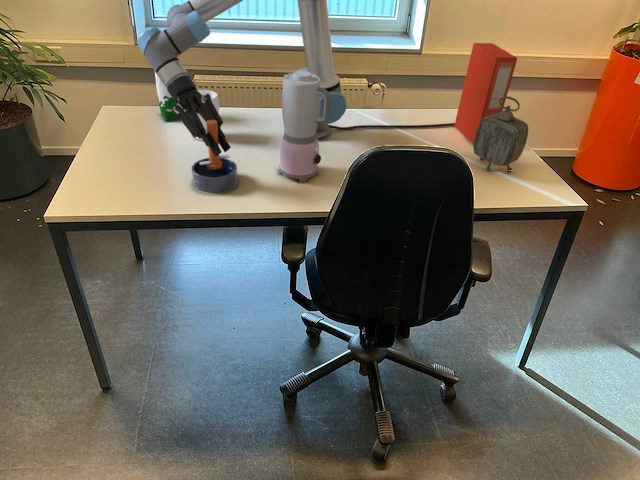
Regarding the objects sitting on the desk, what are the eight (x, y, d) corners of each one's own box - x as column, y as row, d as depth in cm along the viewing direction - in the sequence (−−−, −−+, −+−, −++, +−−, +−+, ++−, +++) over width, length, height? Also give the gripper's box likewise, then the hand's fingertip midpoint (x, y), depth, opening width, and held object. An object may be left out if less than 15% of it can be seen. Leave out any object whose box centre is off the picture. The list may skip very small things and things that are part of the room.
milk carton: (181, 111, 203) (175, 59, 191) (187, 120, 196) (182, 66, 185) (158, 114, 199) (151, 61, 188) (164, 123, 193) (157, 68, 181)
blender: (271, 174, 166) (271, 74, 147) (291, 160, 174) (294, 63, 156) (314, 189, 160) (320, 86, 141) (333, 173, 169) (341, 75, 150)
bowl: (242, 175, 164) (241, 159, 161) (230, 196, 153) (230, 180, 150) (201, 171, 165) (199, 155, 162) (187, 191, 154) (185, 175, 151)
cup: (224, 131, 190) (222, 90, 181) (216, 143, 181) (214, 101, 173) (195, 128, 191) (192, 88, 182) (186, 140, 182) (182, 98, 173)
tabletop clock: (516, 172, 177) (538, 101, 162) (503, 181, 171) (524, 108, 157) (479, 157, 185) (497, 88, 170) (465, 164, 180) (482, 93, 165)
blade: (227, 160, 159) (225, 117, 151) (231, 167, 156) (229, 122, 147) (198, 164, 156) (194, 120, 148) (201, 171, 153) (197, 126, 144)
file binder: (472, 125, 208) (493, 43, 189) (493, 144, 194) (517, 57, 176) (454, 126, 206) (472, 43, 188) (473, 145, 193) (495, 57, 174)
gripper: (192, 81, 157) (236, 148, 159) (149, 95, 146) (197, 167, 148) (203, 67, 151) (248, 137, 153) (160, 81, 140) (209, 156, 142)
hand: (223, 151), depth 151 cm, fingers closed on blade, 3 cm apart
